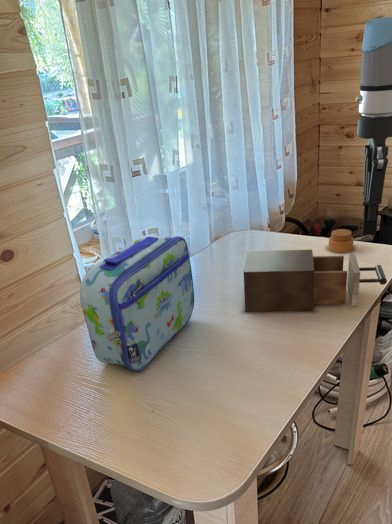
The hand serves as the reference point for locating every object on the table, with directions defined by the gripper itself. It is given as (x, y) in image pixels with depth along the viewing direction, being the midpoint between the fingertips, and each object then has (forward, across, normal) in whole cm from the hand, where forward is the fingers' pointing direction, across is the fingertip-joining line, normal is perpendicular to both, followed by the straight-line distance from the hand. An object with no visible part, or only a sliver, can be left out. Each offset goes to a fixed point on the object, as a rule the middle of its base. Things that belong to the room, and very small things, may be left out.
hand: (368, 233), depth 110 cm
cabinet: (+14, +3, -19) cm, 24 cm away
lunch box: (+14, +22, -45) cm, 52 cm away
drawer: (+13, +3, -6) cm, 15 cm away
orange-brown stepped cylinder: (+14, -26, -3) cm, 30 cm away
